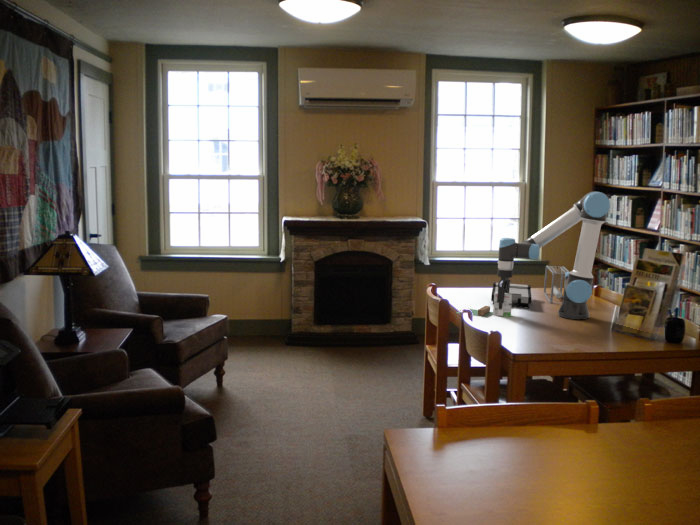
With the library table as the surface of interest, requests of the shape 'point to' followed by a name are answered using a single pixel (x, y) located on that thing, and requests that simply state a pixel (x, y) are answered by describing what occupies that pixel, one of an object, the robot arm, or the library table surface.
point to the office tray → (517, 294)
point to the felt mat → (475, 313)
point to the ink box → (506, 302)
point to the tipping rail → (483, 310)
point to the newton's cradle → (554, 289)
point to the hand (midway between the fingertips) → (502, 314)
